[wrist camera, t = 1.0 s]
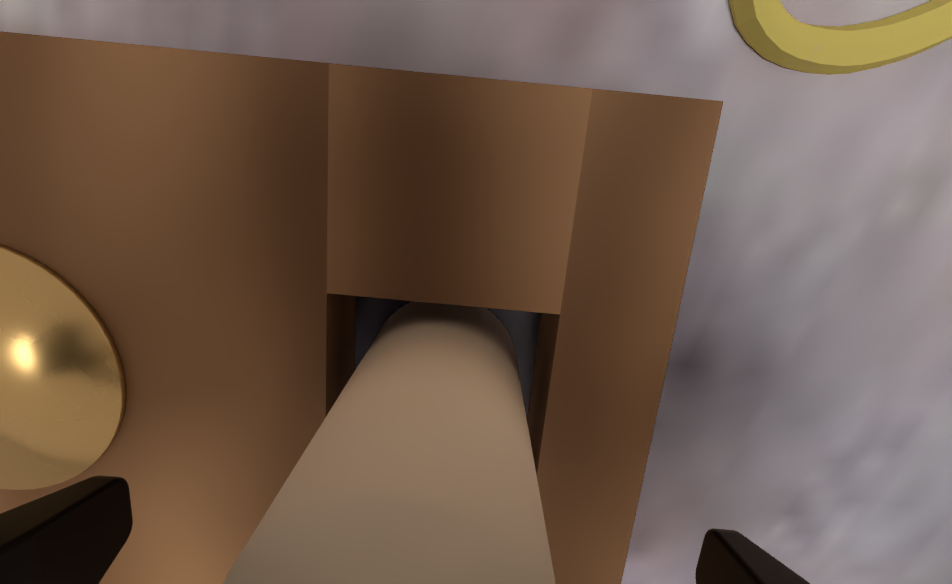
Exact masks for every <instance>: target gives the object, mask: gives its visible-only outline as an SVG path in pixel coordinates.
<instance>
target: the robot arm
mask: <svg viewBox="0 0 952 584" xmlns="http://www.w3.org/2000/svg"><path fill="white" fill-rule="evenodd" d="M132 525H133V517H132V508H131V500H130V491H129V485H128V482H127V481H126V480H125V479H124V478H122V477H114V476H102V475H101V476H93V477H90V478H88V479H85V480H83V481H80V482H78V483H75V484H73V485H70V486H68V487H65V488H63V489H60V490H58V491H55V492H53V493H50V494H48V495H45V496H43V497H40V498H38V499H35V500H33V501H30V502H28V503H25V504H23V505H20V506H18V507H15V508H13V509H10V510H8V511H5V512H3V513H0V584H99V583H100V581H101V580H102V578H103V577H104V575H105V573H106V572H107V570H108V569H109V567H110V566H111V564H112V563H113V561H114V560H115V558H116V557H117V555H118V554H119V552H120V551H121V549H122V547H123V546H124V544H125V543H126V541H127V539H128V538H129V535H130V533H131V530H132ZM696 584H810V583H809V582H807V581H806V580H805V579H803V578H802V577H800V576H799V575H798V574H796V573H795V572H793V571H792V570H791V569H789V568H788V567H786V566H785V565H784V564H782V563H781V562H779V561H778V560H777V559H775V558H774V557H773V556H771V555H770V554H768V553H767V552H766V551H764V550H763V549H761V548H760V547H759V546H757V545H756V544H754V543H753V542H752V541H750V540H749V539H748V538H746V537H745V536H743V535H742V534H741V533H739V532H737V531H734V530H726V529H710V530H708V531H707V533H706V534H705V537H704V541H703V545H702V548H701V552H700V556H699V560H698V564H697V568H696Z"/></svg>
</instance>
